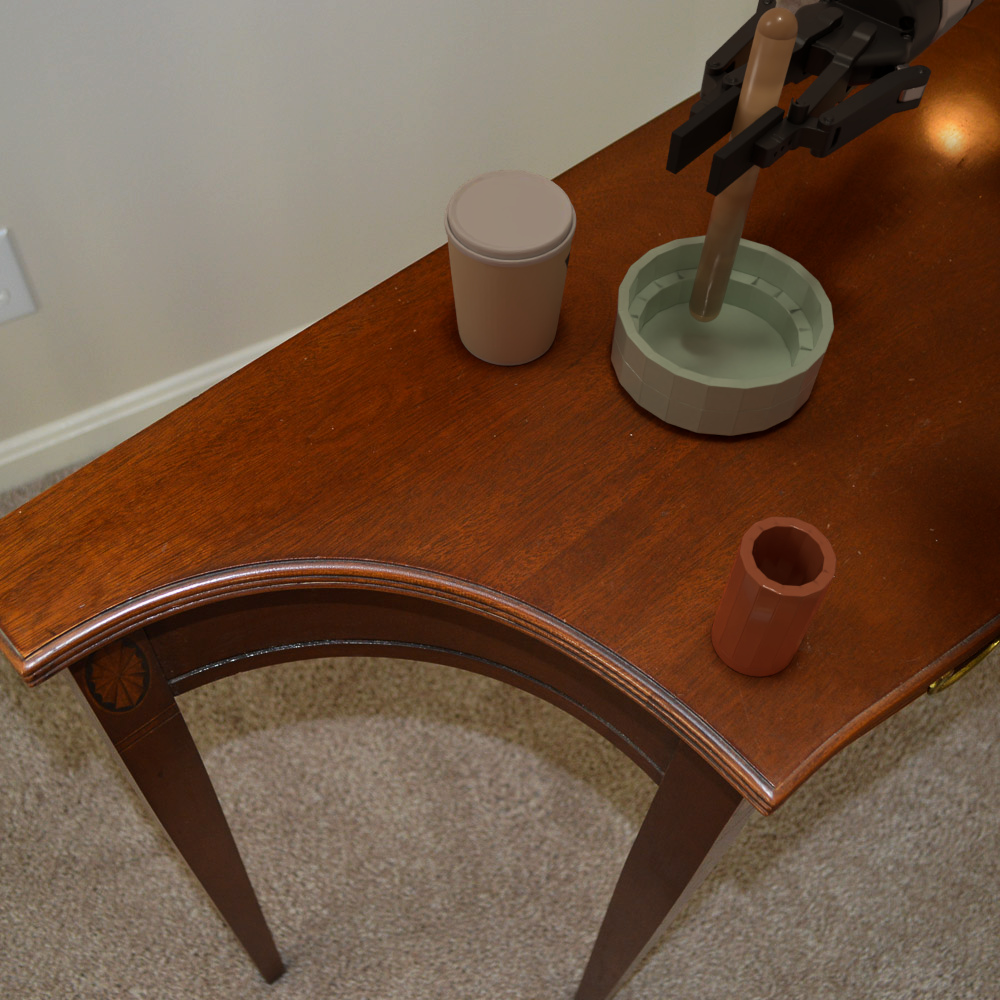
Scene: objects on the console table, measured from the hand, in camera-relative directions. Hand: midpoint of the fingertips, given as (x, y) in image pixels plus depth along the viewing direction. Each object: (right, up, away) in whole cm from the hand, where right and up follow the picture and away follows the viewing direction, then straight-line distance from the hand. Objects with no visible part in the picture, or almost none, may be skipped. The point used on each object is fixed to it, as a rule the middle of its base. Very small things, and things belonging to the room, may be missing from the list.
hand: (694, 164), depth 66 cm
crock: (+5, -29, +5) cm, 30 cm away
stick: (+3, -7, +16) cm, 18 cm away
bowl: (+5, -10, +19) cm, 21 cm away
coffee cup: (-11, -7, +21) cm, 24 cm away
